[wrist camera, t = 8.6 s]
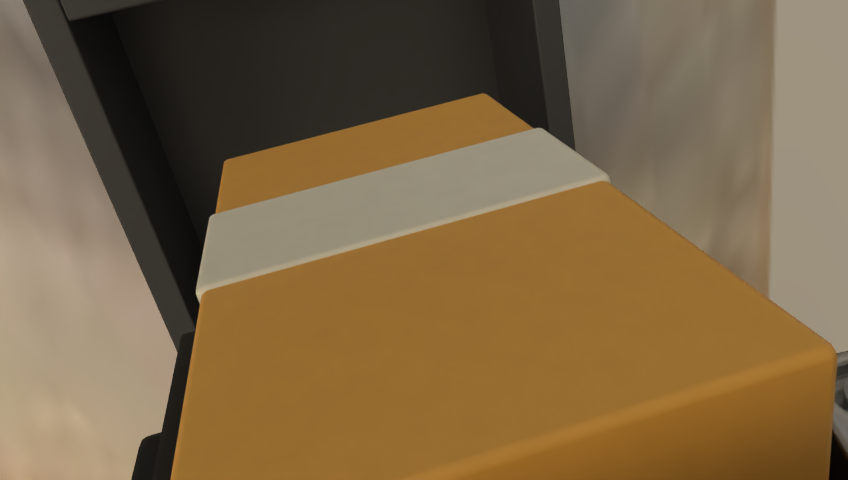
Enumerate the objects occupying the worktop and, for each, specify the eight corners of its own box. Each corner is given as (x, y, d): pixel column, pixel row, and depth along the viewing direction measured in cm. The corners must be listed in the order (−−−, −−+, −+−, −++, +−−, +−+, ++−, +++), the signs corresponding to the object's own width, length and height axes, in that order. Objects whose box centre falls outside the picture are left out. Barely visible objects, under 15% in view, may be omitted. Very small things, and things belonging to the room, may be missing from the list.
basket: (200, 289, 27) (186, 375, 22) (76, -19, 22) (20, -4, 17) (528, 198, 29) (588, 257, 23) (483, -112, 24) (545, -124, 18)
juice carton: (218, 157, 13) (138, 564, 4) (488, 87, 13) (852, 339, 5) (303, 400, 15) (352, 947, 7) (528, 333, 15) (815, 768, 7)
